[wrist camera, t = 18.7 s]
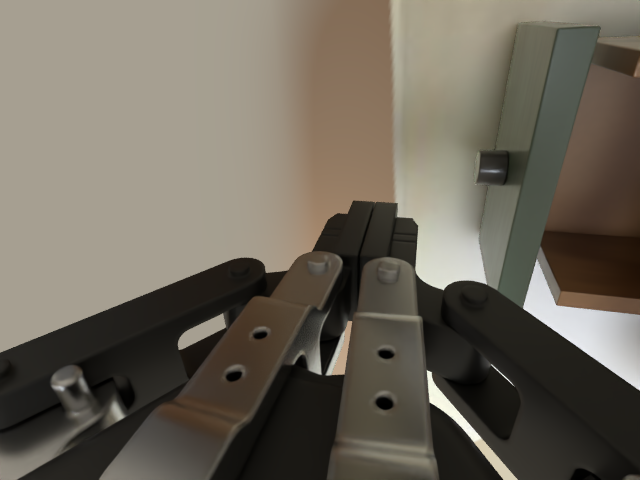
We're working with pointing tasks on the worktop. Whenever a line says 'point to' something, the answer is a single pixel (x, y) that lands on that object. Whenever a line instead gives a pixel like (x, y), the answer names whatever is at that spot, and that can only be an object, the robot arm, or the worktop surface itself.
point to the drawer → (566, 170)
